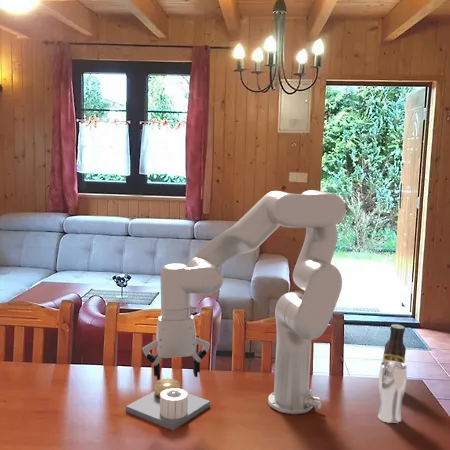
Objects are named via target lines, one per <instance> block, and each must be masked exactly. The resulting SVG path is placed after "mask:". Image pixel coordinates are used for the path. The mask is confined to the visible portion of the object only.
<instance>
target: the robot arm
mask: <svg viewBox="0 0 450 450" xmlns="http://www.w3.org/2000/svg"><path fill="white" fill-rule="evenodd" d="M346 211H347V210H346V204H345V202H344V200H343V199H342V197H340V196H338V195H337V194H336V193H335V194H334V193H331V192H325V191H323V190H316V189H315V190H314V189H309V190H306V191H303V192H302V193H290V192H286V191H280V190H272V191H269V192H268V193H266V194H265V195H264V196H263V197H261V199H259V200H258V201H257V202H256V203H255V204H254V205H253V206H252V207H251V208H250V209H249V210H248V211H247V212H246V213H245V214H244V215H243V216H242V217H241V218H240V219H238V220H237V222H236V223H234V224H233V225H232V226H231V227H229V228H228V229H226V230H225V231H223V232H221V233H220V234H218V235H217V236H215V237H214V238H212V239H211V240H210V241H209V242H207V243H206V244H204V246H203V247H201V249H199V251H197V252H196V253H195V254H194V255H193V256H192V257H191V258H190V259H189V261H188V262H187V264H184V263H167V264H165V265H164V266H162V267H161V269H160V274H159V275H160V316H158V318H157V322H156V323H157V324H156V333H155V334H156V335H155V336H156V337H155V338H156V339H155V340H153V341H152V342H151V341H150V342H149V343H148V344H146V345H144V346H142V352H143V354H144V356H145V357H146V359H147V361H149V362H150V363H151V364H152V365H153V376H154V377H156V381H158V380H161V365H160V362H161V361H162V360H163V359H168V358H169V359H170V358H182V357H192V358H193V359H192V360H193V361H192V369H193V371H192V374H193V376H194V378H198V374H199V373H200V371H201V370H200V369H201V367H200V365H201V362H202V359H203V358H205V356H206V355H207V352H208V351H209V349H210V347H211V344H210V342H209V341H206V340H204V339H202V338H199V337H198V336H197V333H196V332H197V330H196V324H195V323H196V322H195V319H194V315H193V314H194V313H197V307H196V306H192V305H191V304H192V298H191V297H192V296H191V295H192V294H195V295H196V294H197V295H212V294H215V293H216V292H218V291H220V289H221V288H222V286H223V283H224V276H223V273H222V272H221V270H220V269H219V268H220V267H222V265H224V264H225V263H226V262H228V261H229V260H230V259H232V258H234V257H237V256H239V255H244V254H248V253H252V252H254V251H256V250H257V249H258V248H260V246H261V245H262V244H263V243H264V242H265V241H266V240H267V239H268V238H269V237H270V236H272V234H273V233H274V232H275V231H276V230H277V229H278V228H279V227H284V228H290V229H303V228H304V229H305V236H304V240H303V245H302V247H301V250H300V253H299V255H298V256H297V257H298V258H297V261H296V262H295V266H294V269H293V272H292V279H293V283H294V284H295V285H296V286H297V287H298V288H299V289H301V290H303V291H304V293H303V294H302V293H301V292H295V291H289V292H287V293H284V294H283V295H281V296H279V298H278V300H277V302H276V305H275V310H274V312H275V313H274V314H275V315H274V316H275V325H276V347H275V362H274V363H275V366H274V367H275V368H274V383H273V384H274V385H273V388H274V389H273V392H271V393H270V394H269V395H268V397H267V402H268V405H269V406H270V408H272V409H274V410H276V411H278V412H280V413H283V414H289V415H299V414H306V413H308V412H309V411H311V410H312V409H313V408H315V409H319V410H320V409H321V407H322V401H321V398H320V397H318V396H314V395H313V390H312V389H311V388H310V374H311V373H310V372H311V371H310V370H311V369H310V368H311V357H312V356H311V355H312V354H311V353H312V340H316V339H318V338H319V337H321V336H322V335H323V334H324V333H325V331H326V330H327V328H328V326H329V324H330V321H331V319H332V316H333V315H334V311H335V308H336V306H337V303H338V300H339V298H340V294H341V292H342V288H343V277H342V274H341V272H340V270H339V269H338V268H337V267H336V266H335V265H334V264H332V261H333V257H334V254H335V251H336V247H337V244H338V229H337V225H338V224H339V223H340V222H342V220H343V219H344V218H345V215H346ZM198 345H199V346H201V347H202V349H201V350H200V351H199V352H197V348H198V347H197V346H198ZM153 349H155V350H156V353H155V355H153V354H152V353H151V352H150V351H151V350H153Z"/></svg>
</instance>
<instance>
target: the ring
mask: <svg viewBox="0 0 450 450" xmlns="http://www.w3.org/2000/svg"><path fill="white" fill-rule="evenodd" d="M172 390H175V391H178V397H169V392H170V391H172ZM188 394H189V393H188V391H186V389H183V388H180V389H179V388H173V389H172V388H170V389H165V390H164V391H162V392H161V394H160V414H161V416H163V417H165V418H168V419H179V418H181V417H184V416H186V415H187V407H188Z"/></svg>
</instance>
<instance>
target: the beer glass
mask: <svg viewBox="0 0 450 450" xmlns="http://www.w3.org/2000/svg"><path fill="white" fill-rule="evenodd" d="M407 368H408V367H407V365H406V364H405V363H404V364H403V363H401V362H398V361H393V360H386V361H383V360H382V361H381V362H380V368H379V373H378V375H379V376H378V391H379V399H380V401H379V403H380V404H379V409H378V413H377V418H378V419H379V420H380V421H381V422H383V423H385V422H386V424H389V423H397V424H399V422H400V423H401V422H402V414H401V413H402V411H401V410H402V409H401V408H402V403H403V399H404V396H405V393H406V388H407V379H408V378H407V376H408V375H407V374H408V373H407V372H408V370H407Z"/></svg>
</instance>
